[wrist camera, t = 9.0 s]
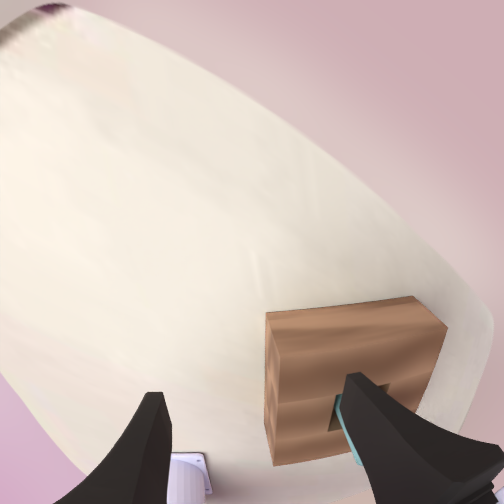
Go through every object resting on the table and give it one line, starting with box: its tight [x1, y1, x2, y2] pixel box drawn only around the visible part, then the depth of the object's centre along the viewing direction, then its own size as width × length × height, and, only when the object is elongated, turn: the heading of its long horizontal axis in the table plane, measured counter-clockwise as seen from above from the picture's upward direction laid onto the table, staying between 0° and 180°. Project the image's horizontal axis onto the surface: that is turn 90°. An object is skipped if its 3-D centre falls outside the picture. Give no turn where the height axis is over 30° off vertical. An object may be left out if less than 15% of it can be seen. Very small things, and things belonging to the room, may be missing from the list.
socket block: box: [264, 296, 448, 466], centre depth 22 cm, size 12×12×5 cm
